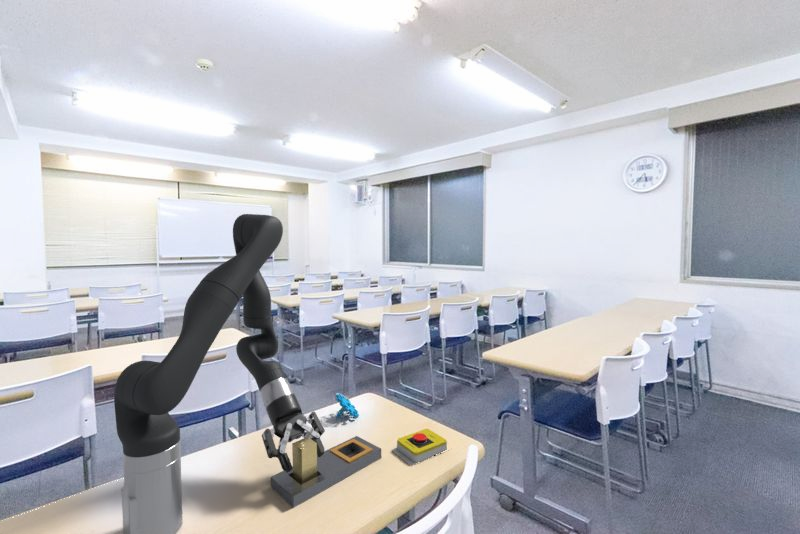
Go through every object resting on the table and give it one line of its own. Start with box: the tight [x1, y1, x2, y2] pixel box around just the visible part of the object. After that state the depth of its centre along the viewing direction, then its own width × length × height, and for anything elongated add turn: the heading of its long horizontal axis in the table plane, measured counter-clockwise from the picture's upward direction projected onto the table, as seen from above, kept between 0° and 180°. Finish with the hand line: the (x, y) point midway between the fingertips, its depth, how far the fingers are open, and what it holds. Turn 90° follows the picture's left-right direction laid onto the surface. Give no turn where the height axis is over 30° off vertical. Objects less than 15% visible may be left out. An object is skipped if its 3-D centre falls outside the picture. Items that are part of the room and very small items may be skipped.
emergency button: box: [392, 428, 448, 466], centre depth 102 cm, size 9×4×15 cm
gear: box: [335, 393, 360, 419], centre depth 123 cm, size 11×6×10 cm
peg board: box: [270, 435, 382, 508], centre depth 92 cm, size 26×10×3 cm, turn 137°
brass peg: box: [291, 437, 317, 485], centre depth 87 cm, size 4×4×10 cm
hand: (306, 462), depth 86 cm, fingers open, 8 cm apart
